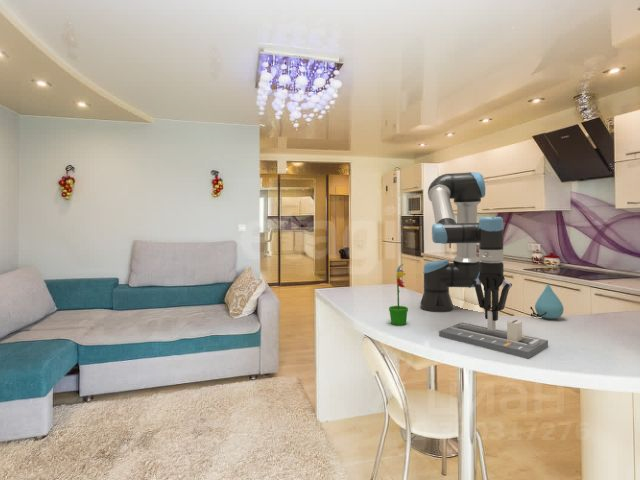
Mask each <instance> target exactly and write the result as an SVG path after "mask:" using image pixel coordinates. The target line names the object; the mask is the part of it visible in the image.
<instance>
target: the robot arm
mask: <svg viewBox="0 0 640 480" xmlns="http://www.w3.org/2000/svg"><path fill="white" fill-rule="evenodd" d="M485 196H486V183H485V179H484V175H482V174H481V173H480V172H474V171H472V172H471V171H470V172H469V171H468V172H456V173H455V172H454V173H445V174H440V175H439V176H437V177H436V178H434V180H433V181H431V183H430V184H429V187H428V189H427V198H428V200H429V201H430V202H431V205H432V210H433V218H434V221H435V222H434V224H432V226H431V240H432V242H433V243H434V244H443V245H445V244H456V256H455V257H454V258H453V262H449V259H448V260H447V259H437V260H431V261H427V262H425V263H424V265H423V271H422V273H423V294H422V298H421V300H420V305H419V307H420V309H421V310H424V311H428V312H436V313H437V312H438V313H439V312H440V313H442V312H444V313H445V312H450V311H453V310H454V305H453V301H452V298H451V295H450V288H468V289H470V288H474V289H475V293H476V299H477V301H478V302H477V303H478V306H479V308H482V309H483V310H484V318H485V320H487V328H488V330H494V329H496V321H498V320H499V311H500V312H501V311H503V310H504V309H505V306H506V302H507V298H508V294H509V291H510V289H511V288H512V286H513V283H511V282H508V281H506V278H505V276H504V270H505V269H504V262H503V261H504V227H505V226H504V219H503V217H502V216H481V217H479V219H478V205H479V204H481V201H482V199H483V198H485ZM451 200H453V204H454V205H456V217H455V214H454V210H453V207H452V202H451ZM477 244H479V245H478V248H479V249H478V250H479V251H478V252H479V253H478V254H479V255H478V256H477ZM482 286H483V288H482ZM500 287H502V289H501V292H500ZM499 292H500V297H499ZM496 330H497V329H496Z"/></svg>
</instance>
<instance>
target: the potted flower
mask: <svg viewBox="0 0 640 480" xmlns="http://www.w3.org/2000/svg"><path fill="white" fill-rule="evenodd" d="M403 265H404V263H401V264H400V265H399V266H397V270H396V288H397V289H396V293H397V294H396V295H397V298H396V299H397V301H396V303H397V305H391V306H389V307H388V312H389V316H390V317H389V318H390V323H391V325H394V326H405V325H406V324H407V318H408V311H409V307H407V306H405V305H400V288H405V285H404V284H405V282H404V281H403V280H402V279H401V278H402V277H404V276H405V275H406V273H405V272H404V271H403V270H402V269H401V267H402V266H403ZM399 287H400V288H399Z"/></svg>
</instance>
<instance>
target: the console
mask: <svg viewBox="0 0 640 480" xmlns="http://www.w3.org/2000/svg"><path fill="white" fill-rule="evenodd" d="M438 334H439V335H438V336H439V337H441V338H445V339H448V340H449V339H450V340H453V341H457V342H461V343H465V344H468V345H473V346H477V347H480V348H484V349H489V350H493V351H497V352H500V353H504V354H508V355H511V354H512V355H513V356H516V357H520V358H523V359H527V360H529V359H530V358H532V357H534V356H535V355H536V354H539V353H540V352H541V351H543V350H545V349H546V348H548V347H549V340H548V339H543V338H540V337H535V336H534V337H533V336H528V335H523V334H522V340H520V341H518V342H516V341H511V340H507V331H504V330H500V329H494V330H488V327H486V326H480V325H475V324H471V323H467V322H459V323H457V324H454V325H452V326H448V327H445V328H443V329H440V330H438Z"/></svg>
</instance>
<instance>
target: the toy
mask: <svg viewBox="0 0 640 480" xmlns="http://www.w3.org/2000/svg"><path fill="white" fill-rule="evenodd" d="M534 309H535V310H534ZM530 310H532V312H531V313H530V317H536V318H543V319H547V320H554V319H560V317H562V315H563V314H564V305H563V303H562V301H561V300H560V298H559V296H557V294H556V293H555V292H554V290H553V288H552V287H551V285H550V284H549V283H547V284H546V286H545V288H544V290H543V291H542V292H541V294H540V295H539V297H538V299H537V300H536V302H535V305H534V308H533V307H532V306H530Z"/></svg>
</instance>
